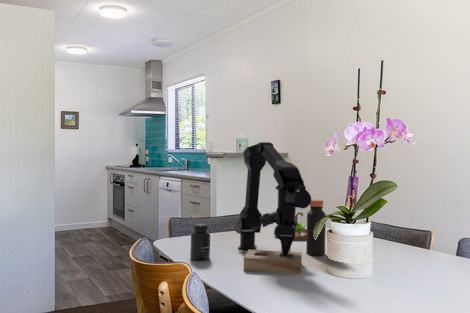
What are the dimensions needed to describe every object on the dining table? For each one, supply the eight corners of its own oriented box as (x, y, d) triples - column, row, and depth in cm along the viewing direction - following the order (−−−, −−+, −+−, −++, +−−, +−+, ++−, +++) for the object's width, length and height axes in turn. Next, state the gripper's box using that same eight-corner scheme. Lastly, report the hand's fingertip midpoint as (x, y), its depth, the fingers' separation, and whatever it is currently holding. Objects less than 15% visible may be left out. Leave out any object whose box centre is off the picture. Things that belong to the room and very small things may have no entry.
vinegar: (302, 254, 164) (303, 200, 164) (312, 251, 169) (313, 198, 169) (318, 257, 160) (319, 201, 160) (328, 254, 165) (329, 200, 164)
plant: (321, 242, 188) (322, 215, 188) (275, 241, 189) (275, 215, 189) (315, 233, 208) (315, 209, 208) (273, 232, 209) (273, 208, 209)
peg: (281, 266, 146) (281, 236, 146) (290, 266, 146) (290, 236, 146) (280, 268, 143) (281, 237, 143) (290, 269, 143) (290, 238, 143)
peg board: (248, 261, 152) (248, 249, 152) (301, 264, 150) (301, 252, 150) (243, 270, 141) (243, 257, 141) (301, 273, 138) (301, 260, 138)
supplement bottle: (207, 261, 151) (207, 226, 151) (187, 260, 152) (188, 225, 152) (212, 257, 158) (212, 223, 158) (193, 255, 159) (194, 222, 159)
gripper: (264, 200, 155) (263, 245, 155) (258, 207, 136) (258, 258, 136) (296, 201, 153) (296, 246, 153) (295, 208, 134) (294, 260, 135)
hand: (285, 252), depth 144 cm, fingers open, 9 cm apart
